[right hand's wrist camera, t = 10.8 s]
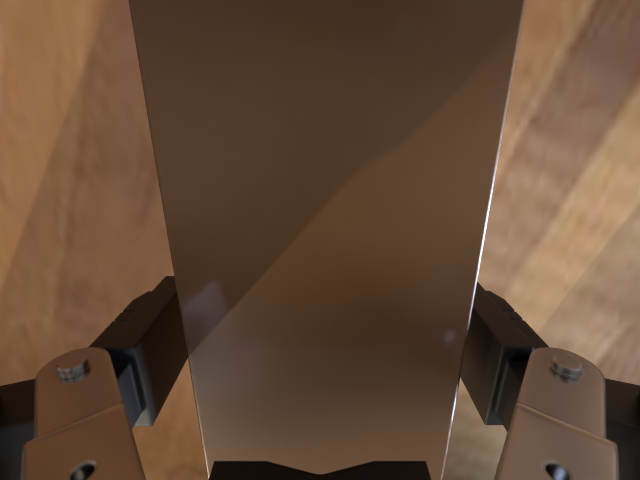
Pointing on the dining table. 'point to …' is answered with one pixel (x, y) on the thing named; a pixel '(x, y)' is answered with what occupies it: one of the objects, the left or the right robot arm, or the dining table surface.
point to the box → (326, 213)
